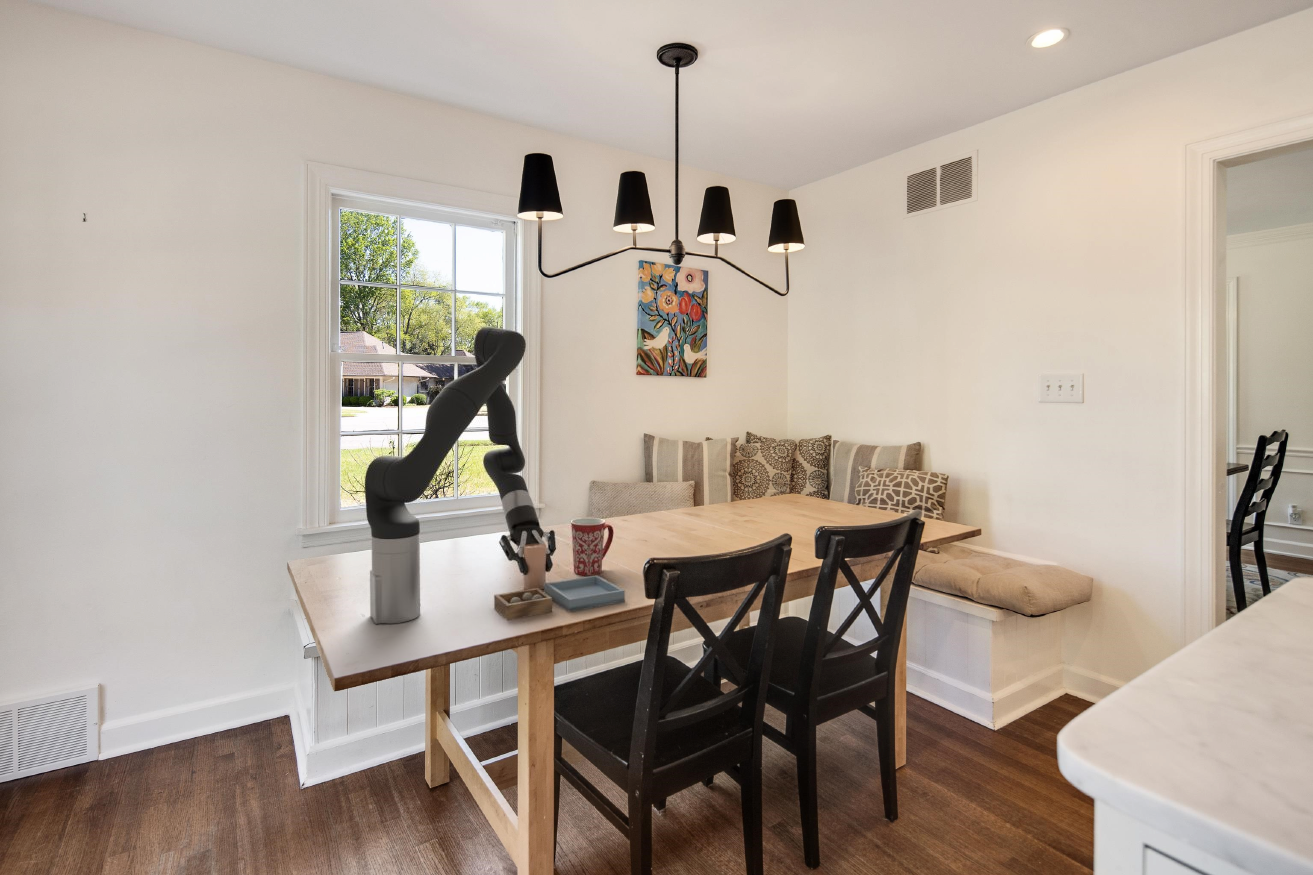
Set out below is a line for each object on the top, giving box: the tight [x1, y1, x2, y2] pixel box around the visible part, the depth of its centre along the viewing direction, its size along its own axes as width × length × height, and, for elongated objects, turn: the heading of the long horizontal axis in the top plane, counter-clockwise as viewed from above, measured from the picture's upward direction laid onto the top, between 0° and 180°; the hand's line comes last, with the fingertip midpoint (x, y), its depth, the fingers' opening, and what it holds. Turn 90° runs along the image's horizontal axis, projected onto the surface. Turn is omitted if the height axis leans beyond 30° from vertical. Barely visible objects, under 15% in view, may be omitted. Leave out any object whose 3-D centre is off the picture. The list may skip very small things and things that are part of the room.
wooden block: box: [523, 543, 547, 591], centre depth 155 cm, size 5×5×10 cm
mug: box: [570, 517, 615, 576], centre depth 171 cm, size 13×9×14 cm
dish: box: [544, 574, 626, 612], centre depth 149 cm, size 14×14×3 cm
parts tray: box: [493, 588, 553, 621], centre depth 140 cm, size 10×8×3 cm
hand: (537, 571), depth 153 cm, fingers closed on wooden block, 5 cm apart
